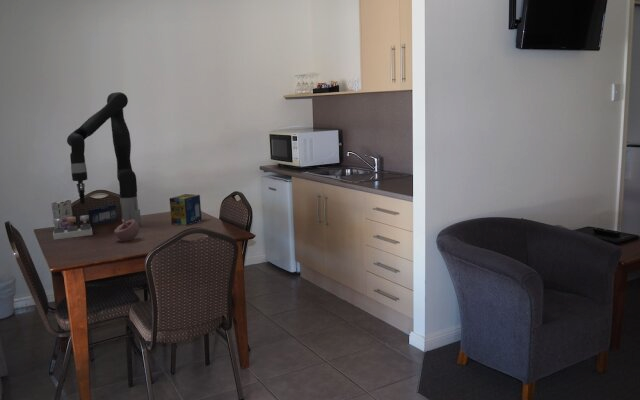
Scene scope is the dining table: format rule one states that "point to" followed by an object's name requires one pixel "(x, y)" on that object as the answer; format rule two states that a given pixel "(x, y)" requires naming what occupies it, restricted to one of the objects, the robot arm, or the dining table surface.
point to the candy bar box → (62, 212)
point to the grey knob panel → (72, 232)
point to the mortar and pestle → (127, 230)
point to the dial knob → (71, 220)
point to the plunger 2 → (84, 218)
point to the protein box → (185, 209)
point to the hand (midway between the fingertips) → (82, 203)
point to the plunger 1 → (57, 221)
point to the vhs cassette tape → (102, 215)
